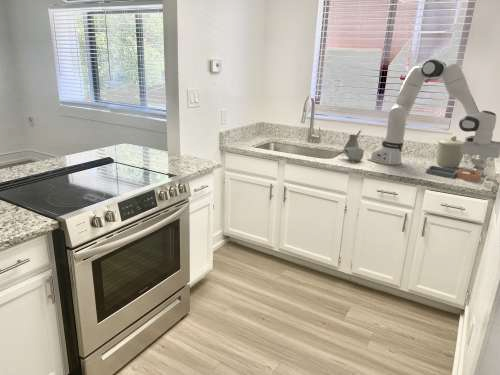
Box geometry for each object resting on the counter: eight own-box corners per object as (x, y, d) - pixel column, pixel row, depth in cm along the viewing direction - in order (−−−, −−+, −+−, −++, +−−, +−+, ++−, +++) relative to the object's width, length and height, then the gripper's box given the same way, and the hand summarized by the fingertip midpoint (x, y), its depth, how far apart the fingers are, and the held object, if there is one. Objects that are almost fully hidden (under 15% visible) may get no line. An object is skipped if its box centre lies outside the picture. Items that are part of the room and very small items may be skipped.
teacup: (365, 160, 260) (367, 149, 258) (358, 163, 253) (359, 151, 250) (347, 156, 269) (348, 145, 267) (339, 159, 261) (341, 147, 259)
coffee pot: (356, 155, 275) (359, 134, 270) (341, 152, 280) (343, 132, 276) (365, 150, 292) (368, 131, 287) (351, 148, 297) (353, 129, 293)
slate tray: (425, 174, 235) (426, 169, 234) (430, 169, 245) (431, 165, 244) (453, 179, 226) (454, 174, 225) (456, 174, 237) (457, 170, 236)
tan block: (461, 176, 231) (463, 171, 230) (469, 177, 229) (470, 172, 228) (460, 177, 228) (461, 172, 227) (467, 179, 226) (468, 174, 225)
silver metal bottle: (470, 176, 235) (478, 144, 229) (471, 174, 240) (479, 143, 234) (482, 178, 232) (490, 146, 225) (483, 176, 237) (491, 144, 231)
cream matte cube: (473, 162, 226) (474, 157, 225) (481, 163, 224) (482, 158, 223) (472, 164, 223) (473, 158, 222) (480, 165, 220) (481, 160, 219)
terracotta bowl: (455, 179, 226) (457, 172, 225) (458, 175, 236) (460, 168, 234) (478, 184, 220) (480, 176, 218) (480, 179, 229) (482, 172, 228)
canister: (463, 166, 258) (470, 136, 251) (460, 172, 244) (468, 139, 237) (435, 161, 268) (441, 132, 261) (430, 166, 253) (436, 135, 246)
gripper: (504, 141, 216) (497, 164, 220) (463, 136, 227) (458, 158, 231) (503, 143, 211) (497, 167, 215) (462, 137, 222) (457, 160, 226)
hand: (477, 162), depth 223 cm, fingers closed on cream matte cube, 4 cm apart
